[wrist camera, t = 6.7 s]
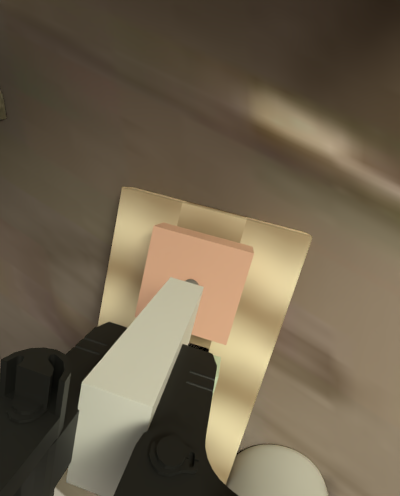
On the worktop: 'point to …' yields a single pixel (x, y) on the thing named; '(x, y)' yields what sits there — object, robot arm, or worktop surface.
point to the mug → (274, 473)
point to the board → (248, 312)
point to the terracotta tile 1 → (198, 275)
